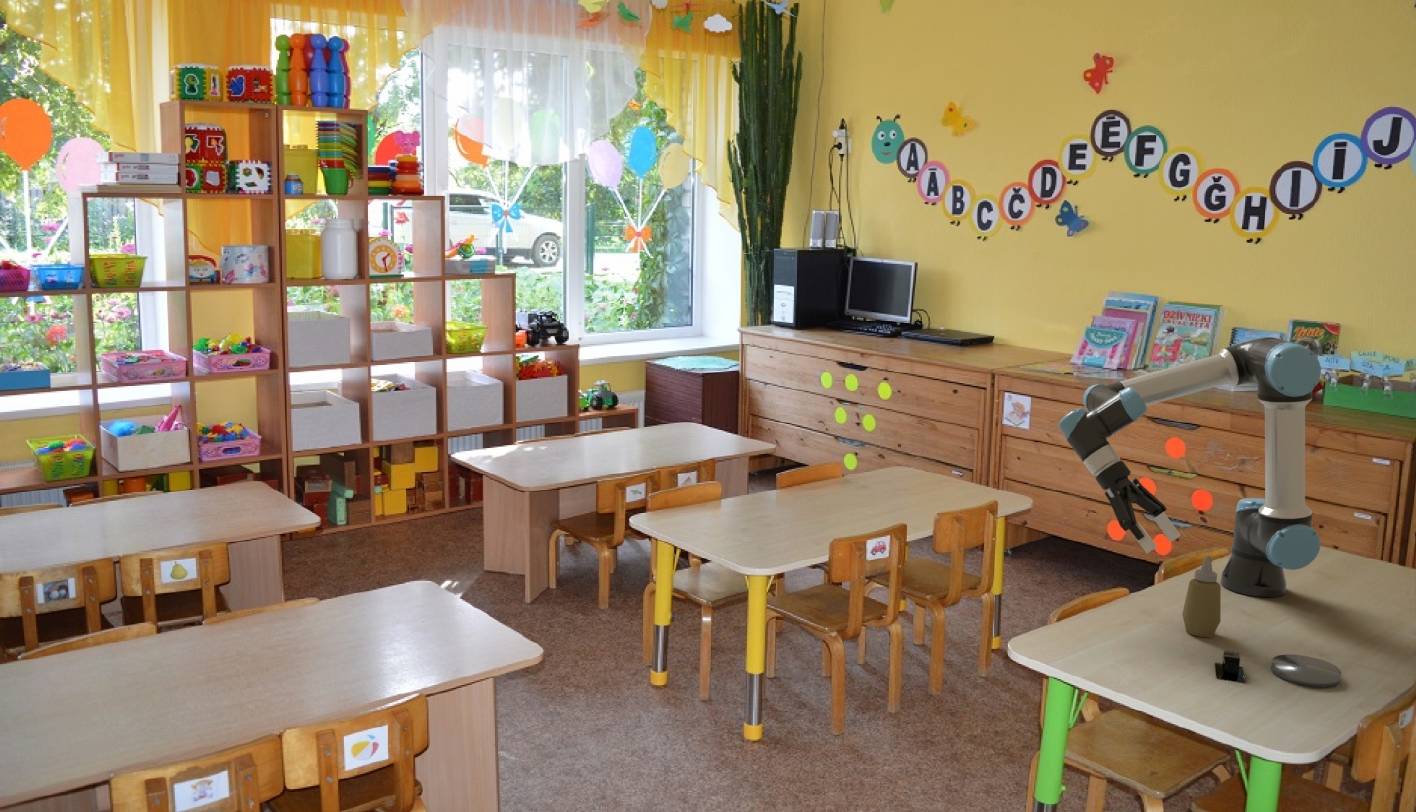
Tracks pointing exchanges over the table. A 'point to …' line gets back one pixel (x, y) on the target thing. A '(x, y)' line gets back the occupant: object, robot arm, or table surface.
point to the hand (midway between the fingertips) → (1164, 544)
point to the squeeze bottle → (1203, 602)
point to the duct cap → (1306, 671)
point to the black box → (1230, 668)
